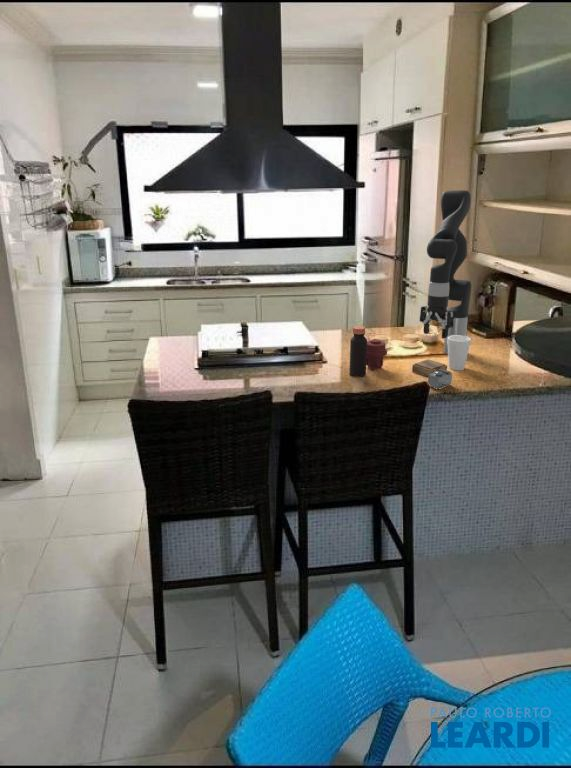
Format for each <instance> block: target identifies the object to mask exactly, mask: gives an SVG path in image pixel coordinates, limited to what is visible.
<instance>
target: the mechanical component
mask: <svg viewBox="0 0 571 768" xmlns="http://www.w3.org/2000/svg"><path fill="white" fill-rule="evenodd" d="M387 354H388V350H387V348H386V342H385V341H383V340H380V339H377V338H374V339H371V340H367V360H366V367H367V368H369V369H371V370H372V371H373V372H375V371H377V370H378V369H382V368H383V365H384V357H385V356H387Z"/></svg>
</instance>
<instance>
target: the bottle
mask: <svg viewBox="0 0 571 768" xmlns="http://www.w3.org/2000/svg"><path fill="white" fill-rule="evenodd" d="M352 334H353V336H352V337H351V338H350V341H349V342H350V344H349V347H350V348H349V349H350V350H349V375H350V376H351V377H355V378H362V377H365V376H366V375H367V365H366V360H367V341H368V339H367V337H366V336H365V335H366V327H365V326H363V325H358V326H357V325H355V326H353V327H352Z"/></svg>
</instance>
